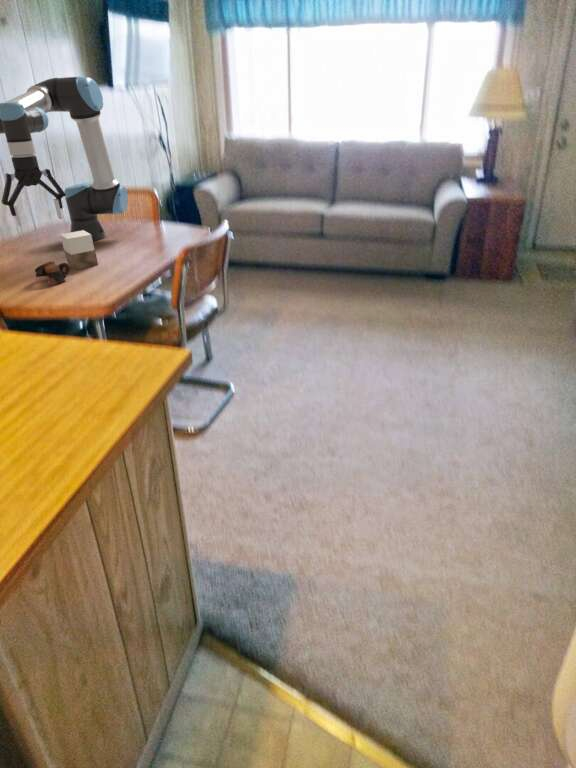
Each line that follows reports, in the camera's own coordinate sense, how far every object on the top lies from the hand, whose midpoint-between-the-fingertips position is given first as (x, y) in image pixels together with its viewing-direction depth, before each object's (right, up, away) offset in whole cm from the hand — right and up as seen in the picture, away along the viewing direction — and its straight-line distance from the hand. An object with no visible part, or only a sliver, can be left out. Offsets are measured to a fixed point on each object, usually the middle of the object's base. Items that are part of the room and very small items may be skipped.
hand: (40, 222), depth 188 cm
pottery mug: (+1, -19, +10) cm, 21 cm away
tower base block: (+5, -9, +26) cm, 28 cm away
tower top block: (+5, -4, +23) cm, 24 cm away
